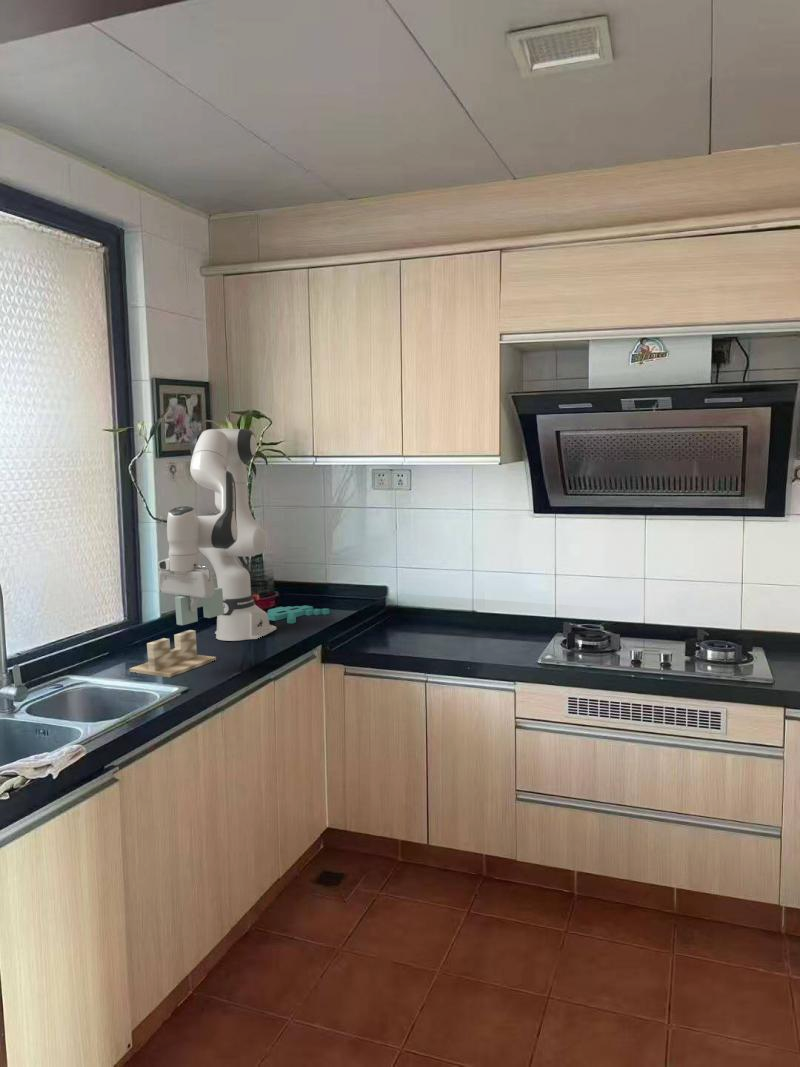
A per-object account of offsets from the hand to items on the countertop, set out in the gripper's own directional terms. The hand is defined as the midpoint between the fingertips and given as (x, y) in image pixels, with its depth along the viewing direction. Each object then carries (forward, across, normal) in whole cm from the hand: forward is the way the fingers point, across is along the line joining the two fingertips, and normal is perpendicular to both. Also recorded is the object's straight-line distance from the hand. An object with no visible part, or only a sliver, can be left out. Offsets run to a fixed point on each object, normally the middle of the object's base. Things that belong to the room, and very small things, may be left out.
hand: (188, 610), depth 245 cm
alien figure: (+20, +27, -73) cm, 80 cm away
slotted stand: (+19, +11, -2) cm, 22 cm away
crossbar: (+4, 0, -4) cm, 6 cm away
